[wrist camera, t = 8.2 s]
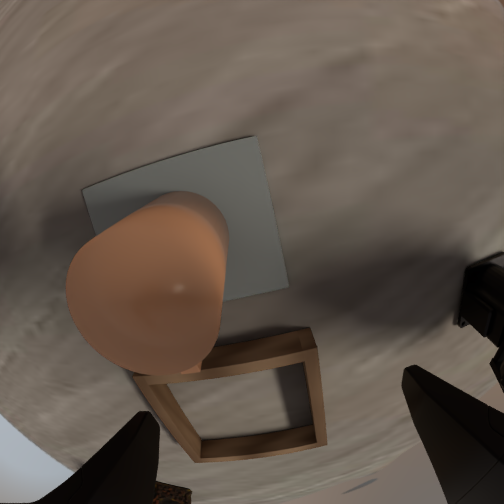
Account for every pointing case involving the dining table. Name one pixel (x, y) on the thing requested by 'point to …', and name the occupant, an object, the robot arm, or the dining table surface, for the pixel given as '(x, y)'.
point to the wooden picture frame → (234, 363)
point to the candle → (171, 494)
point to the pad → (219, 193)
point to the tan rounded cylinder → (153, 285)
